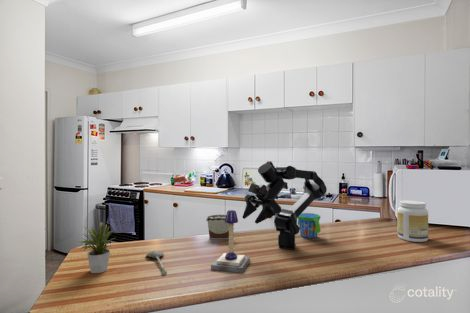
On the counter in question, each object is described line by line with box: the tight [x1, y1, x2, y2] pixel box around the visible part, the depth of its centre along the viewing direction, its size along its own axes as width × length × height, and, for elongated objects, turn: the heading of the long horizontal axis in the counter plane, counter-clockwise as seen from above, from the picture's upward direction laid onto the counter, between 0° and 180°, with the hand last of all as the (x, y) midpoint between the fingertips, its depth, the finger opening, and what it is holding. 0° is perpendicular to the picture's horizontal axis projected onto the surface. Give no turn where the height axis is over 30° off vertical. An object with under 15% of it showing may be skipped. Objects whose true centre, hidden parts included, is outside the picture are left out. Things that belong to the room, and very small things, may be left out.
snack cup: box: [297, 212, 322, 239], centre depth 139 cm, size 16×10×10 cm
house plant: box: [77, 221, 116, 274], centre depth 100 cm, size 14×14×16 cm
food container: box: [206, 214, 229, 240], centre depth 139 cm, size 12×6×10 cm, turn 84°
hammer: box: [145, 250, 168, 275], centre depth 106 cm, size 22×3×7 cm
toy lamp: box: [225, 209, 239, 260], centre depth 104 cm, size 5×5×17 cm
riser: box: [210, 252, 251, 274], centre depth 104 cm, size 11×11×2 cm
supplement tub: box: [396, 199, 429, 243], centre depth 135 cm, size 12×12×17 cm
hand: (249, 220), depth 113 cm, fingers open, 9 cm apart
